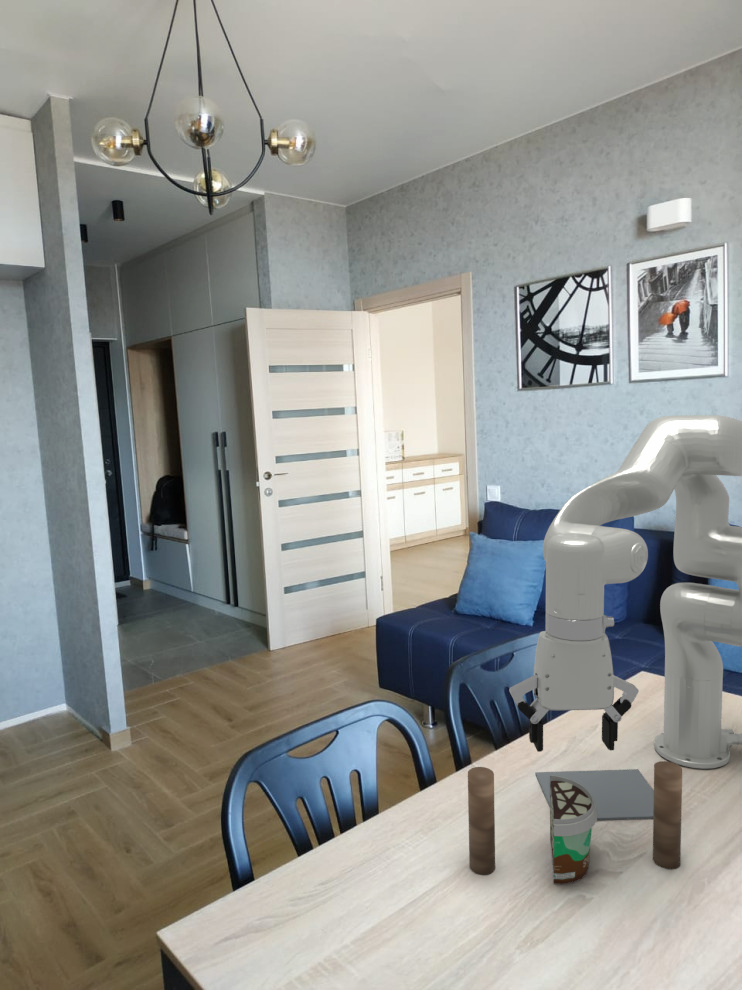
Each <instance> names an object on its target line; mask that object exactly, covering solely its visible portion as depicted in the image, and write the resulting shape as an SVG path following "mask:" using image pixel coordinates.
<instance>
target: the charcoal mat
mask: <svg viewBox="0 0 742 990" xmlns="http://www.w3.org/2000/svg"><path fill="white" fill-rule="evenodd" d="M550 775H553V776H559V777H564V778H567V779H570V780H573V781H575V782H577V783H579V784H581V785H582V786H584V787H585V788H586V789H587V790H588V791H589V792H590V794H591V795H592V798H593V799H594V802H595V805H596V810H597V816H598V817H597V821H620V820H653V809H654V788H653V787H652V786H651V785H650V783H649V782H648V781H647V779H646V778H645V776H644V775H643V774H642V772H641V771H640V769H639V768H637V769H636V768H634V769H632V768H631V769H600V770H598V769H596V770H570V771H569V770H568V771H567V770H566V771H564V770H563V771H539V772H538V771H537V772H535V777H536V779H537V781H538V783H539V787H540V788H541V790H542V792H543V795H544V797H545V800H546V802H547V804H548V807H549V808H550Z"/></svg>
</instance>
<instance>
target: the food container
mask: <svg viewBox="0 0 742 990" xmlns="http://www.w3.org/2000/svg"><path fill="white" fill-rule="evenodd" d="M597 817H598V816H597V810H596V805H595V802H594V799H593V798H592V795H591V794H590V792H589V791H588V790H587V789H586V788H585V787H584V786H582V785H581V784H579V783H577V782H575V781H573V780H570V779H567V778H564V777H559V776H553V775H550V807H549V824H550V825H549V842H550V843H549V844H550V854H551V855H550V856H551V867H552V878H553V879H552V882H553V885H565V884H566V885H567V884H573V883H575V882H577V881H580V880H582V879H583V878H584V877H585V876H586V875H587V874H588V872H589V871H588V870H589V864H590V863H589V862H590V853H591V852H590V851H591V842H592V841H591V839H592V831H593V827H594V826H595V825H596V823H597V822H598V820H597Z"/></svg>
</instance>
